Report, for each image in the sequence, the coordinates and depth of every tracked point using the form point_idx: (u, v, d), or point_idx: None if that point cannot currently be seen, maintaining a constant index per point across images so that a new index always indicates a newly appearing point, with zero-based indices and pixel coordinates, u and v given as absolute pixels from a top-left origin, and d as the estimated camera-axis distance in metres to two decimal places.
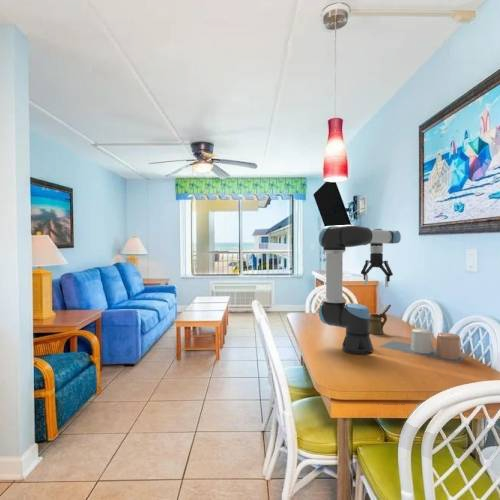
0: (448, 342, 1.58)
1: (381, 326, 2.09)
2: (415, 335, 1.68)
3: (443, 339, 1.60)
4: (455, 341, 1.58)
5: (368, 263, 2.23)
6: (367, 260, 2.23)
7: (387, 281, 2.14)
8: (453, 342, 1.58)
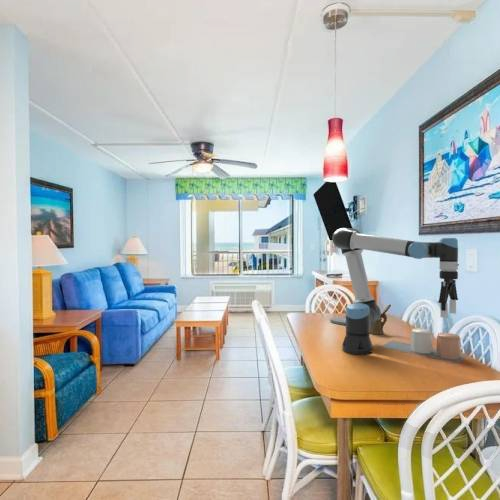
0: (448, 342, 1.58)
1: (381, 326, 2.09)
2: (415, 335, 1.68)
3: (443, 339, 1.60)
4: (455, 341, 1.58)
5: None
6: None
7: (441, 309, 1.57)
8: (453, 342, 1.58)
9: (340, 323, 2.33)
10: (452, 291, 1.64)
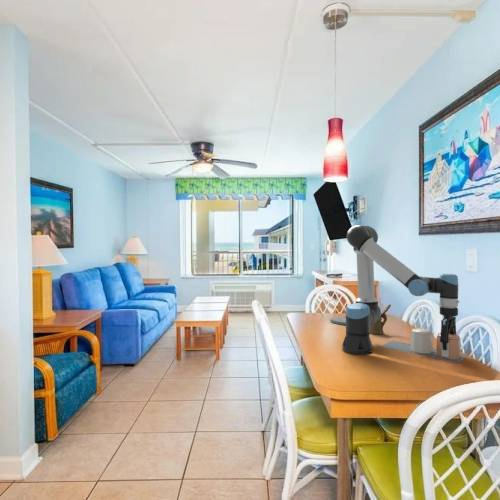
0: (448, 342, 1.58)
1: (381, 326, 2.09)
2: (415, 335, 1.68)
3: None
4: (455, 341, 1.58)
5: None
6: None
7: (443, 349, 1.59)
8: (453, 342, 1.58)
9: (340, 323, 2.33)
10: (451, 328, 1.63)
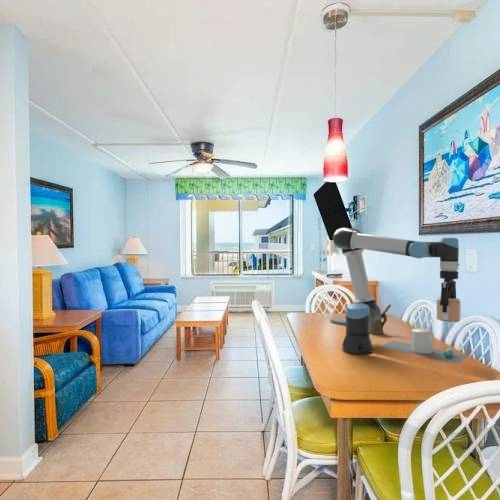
0: (448, 305, 1.58)
1: (381, 326, 2.09)
2: (415, 335, 1.68)
3: None
4: (456, 304, 1.57)
5: None
6: None
7: (443, 311, 1.59)
8: (453, 305, 1.57)
9: (340, 323, 2.33)
10: (452, 292, 1.63)
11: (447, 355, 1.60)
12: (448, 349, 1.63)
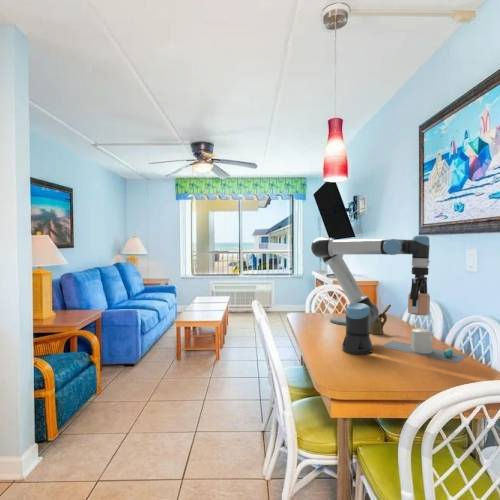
0: (418, 299, 1.67)
1: (381, 326, 2.09)
2: (415, 335, 1.68)
3: None
4: (425, 298, 1.67)
5: None
6: None
7: (412, 305, 1.68)
8: (422, 299, 1.67)
9: (340, 323, 2.33)
10: (422, 287, 1.73)
11: (447, 355, 1.60)
12: (448, 349, 1.63)
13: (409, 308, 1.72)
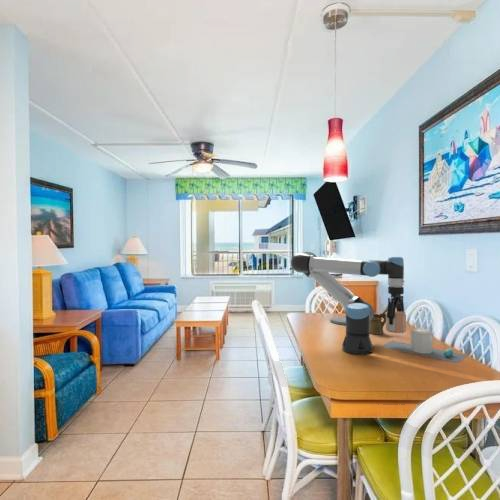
0: (394, 317, 1.76)
1: (381, 326, 2.09)
2: (415, 335, 1.68)
3: None
4: (401, 317, 1.75)
5: None
6: None
7: (390, 324, 1.76)
8: (399, 317, 1.75)
9: (340, 323, 2.33)
10: (399, 306, 1.81)
11: (447, 355, 1.60)
12: (448, 349, 1.63)
13: (387, 326, 1.80)
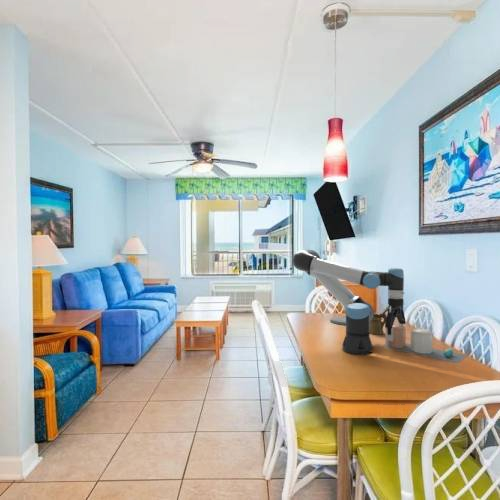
0: (394, 332, 1.76)
1: (381, 326, 2.09)
2: (415, 335, 1.68)
3: None
4: (400, 331, 1.75)
5: None
6: None
7: (388, 333, 1.75)
8: (398, 332, 1.75)
9: (340, 323, 2.33)
10: (399, 316, 1.82)
11: (447, 355, 1.60)
12: (448, 349, 1.63)
13: (386, 340, 1.80)
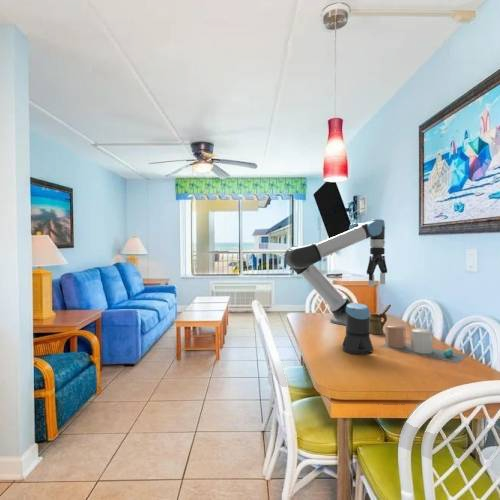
0: (394, 332, 1.76)
1: (381, 326, 2.09)
2: (415, 335, 1.68)
3: (390, 330, 1.77)
4: (400, 331, 1.75)
5: None
6: None
7: (369, 279, 1.86)
8: (398, 332, 1.75)
9: (340, 323, 2.33)
10: (381, 265, 1.93)
11: (447, 355, 1.60)
12: (448, 349, 1.63)
13: (386, 340, 1.80)
